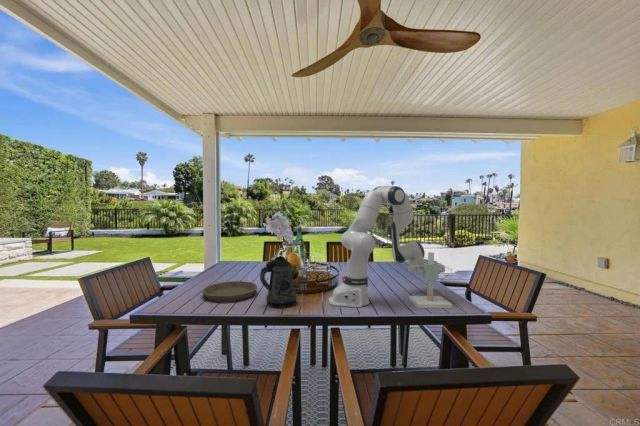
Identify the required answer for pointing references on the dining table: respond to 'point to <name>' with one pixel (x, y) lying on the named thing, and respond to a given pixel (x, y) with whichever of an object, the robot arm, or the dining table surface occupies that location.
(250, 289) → the plant saucer
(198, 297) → the dining table surface
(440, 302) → the post stand
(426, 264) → the sleeve
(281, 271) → the beer stein
